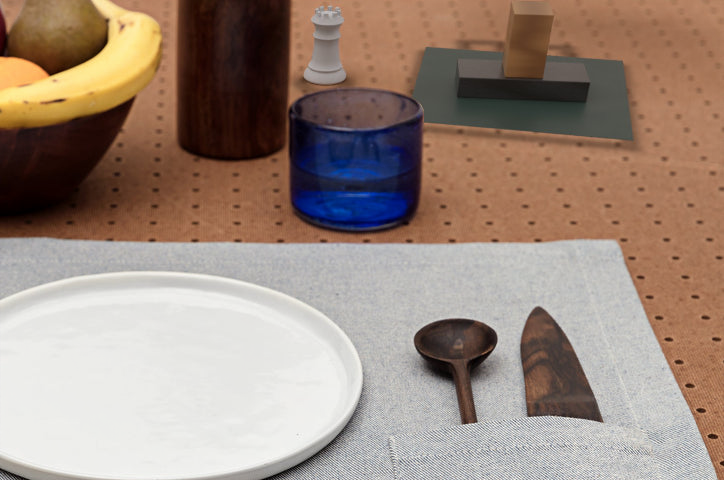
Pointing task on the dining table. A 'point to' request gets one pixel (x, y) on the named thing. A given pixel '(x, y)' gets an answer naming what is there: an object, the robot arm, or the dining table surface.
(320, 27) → the rook chess piece
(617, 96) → the slate board
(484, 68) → the duster
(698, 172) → the dining table surface
